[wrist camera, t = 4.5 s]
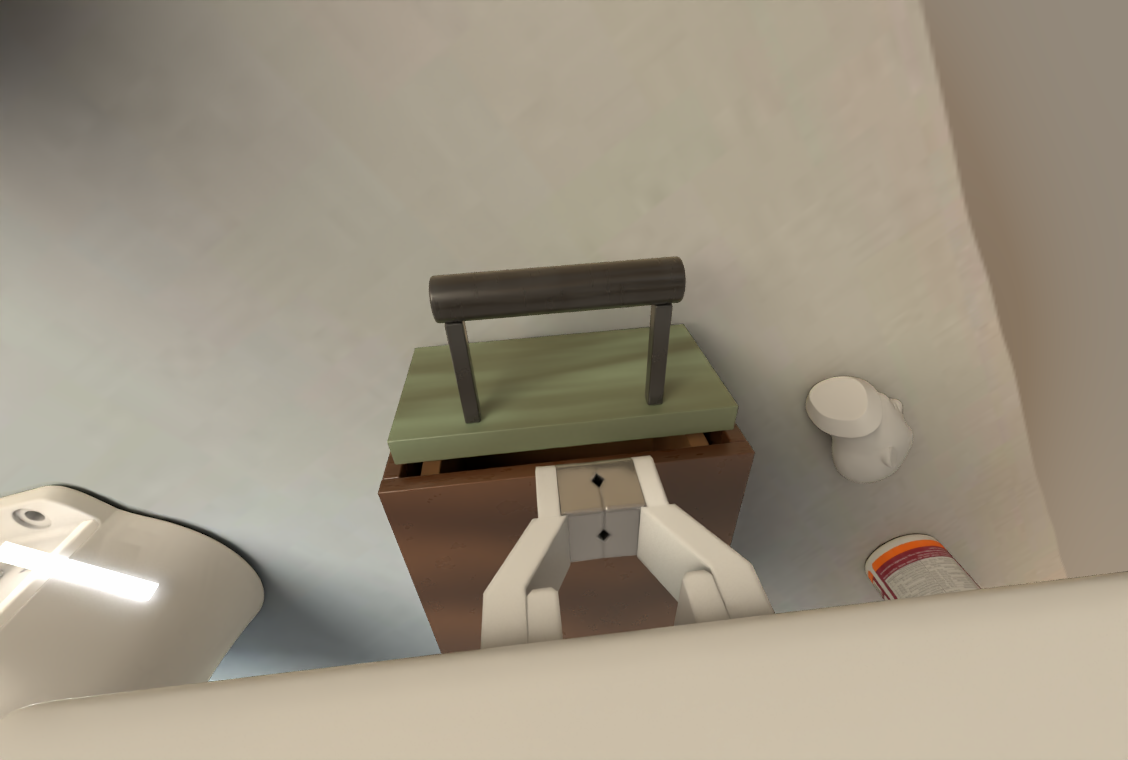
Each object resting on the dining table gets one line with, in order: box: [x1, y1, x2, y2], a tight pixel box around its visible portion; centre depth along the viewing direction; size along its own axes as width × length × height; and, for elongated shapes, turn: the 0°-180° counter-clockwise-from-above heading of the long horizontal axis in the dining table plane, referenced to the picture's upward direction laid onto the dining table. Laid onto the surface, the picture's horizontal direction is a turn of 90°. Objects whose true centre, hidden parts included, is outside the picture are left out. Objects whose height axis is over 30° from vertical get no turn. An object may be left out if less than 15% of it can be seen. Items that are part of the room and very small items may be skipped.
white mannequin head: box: [805, 376, 913, 483], centre depth 28 cm, size 4×8×5 cm
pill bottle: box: [865, 534, 981, 600], centre depth 35 cm, size 6×6×11 cm
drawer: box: [387, 257, 738, 476], centre depth 23 cm, size 21×13×7 cm, turn 2°
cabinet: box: [378, 423, 755, 654], centre depth 26 cm, size 16×14×8 cm
